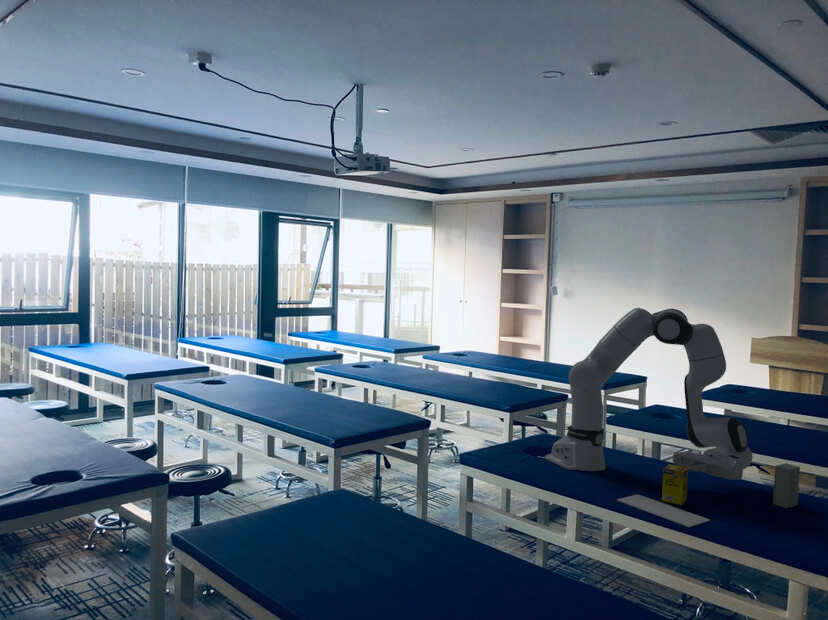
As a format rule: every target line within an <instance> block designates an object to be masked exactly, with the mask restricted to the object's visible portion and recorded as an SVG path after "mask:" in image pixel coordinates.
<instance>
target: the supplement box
mask: <svg viewBox="0 0 828 620" xmlns="http://www.w3.org/2000/svg"><path fill="white" fill-rule="evenodd" d="M662 473H663V474H662V489H661V490H662V492H661V503H664V504H667V505H670V506H673V507H676V508H682V507H683V506H684V505H685V504H687V498H688V483H689V482H688V480H689V477H688V476H689V470H688V468H687V467H683V466H680V465H676V464H670V463H669V464H668V465H666V466H665V467H663V472H662Z"/></svg>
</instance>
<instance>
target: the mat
mask: <svg viewBox="0 0 828 620" xmlns="http://www.w3.org/2000/svg"><path fill="white" fill-rule="evenodd" d="M616 502H619V503H621V504H622V503H623V504H625V505H628V506H630V507H632V508H636V509H638V510H641V511H644V512H647V513H649V514H651V515H654V516H657V517H661V518H662V519H666V520H667V521H671V522H673V523H675V524H677V525H681V526H684V527H687V528H692V527H695V526H698V525H701V524H705V523H707V522H710V521H711V519H709V518H706V517H704V516H700V515H698V514H695V513H693V512H689V511H686V510H683V509H681V508H679V507H676V506H673V505H669V504H664V503H662V501H658V500H656V499H652V498H651V497H650V498H649V497H646V496H644V495H641V494H638V493H637V494H633V495H630V496H629V495H628V496H626V497H621V498H618V499H616Z"/></svg>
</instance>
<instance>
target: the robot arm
mask: <svg viewBox="0 0 828 620" xmlns="http://www.w3.org/2000/svg"><path fill="white" fill-rule="evenodd" d="M653 336H654V337H655V338H656V340H657V341H659V342H660V343H662V344H666V345H676V346H678V345H679V346H683V347H684V350H685V352H686V355H687V360H688V373H687V374H686V375H685V376H684V381H683V384H684V386H683V387H684V399H685V408H686V420H687V421H686V422H687V423H686V436H687V439H688V441H690V443H691V444H693V445H694V446H695V447H697V448H698V449H705V448H708V449H707V450H704V452H703V453H702V454H701V453H695V452H694V451H693V452H692V451H685V450H684V451H676V452H674V453H673V454H672V463H673V465H676V466H681V467H686V468H688V471H692V472H696V473H697V472H701V473H705V474H707V475H710V476H711V477H714V478H715V477H716V478H718V477H719V478H722V479H726V480H729V481H732V480H733V481H734V480H742V478H743V473H744V470H745V469H747V468H748V467H749V466H750V465H751V464H752V462H753V453H752V450H751V449H750V447H749V446H748V445H749V438H748V437H749V436H748V432H747V428H746V427H745V426H744V424H743V423H742V422H741V421H740V420H739V419H738V418H736V417H709V418H708V417H706V416H705V415H704V410H703V409H704V408H703V407H704V406H703V398H702V397H703V396H702V393H703V390H704V389H705V388H706V387H708V386H710V385H712V384H714V383H716V382H718V381H719V380H720V379H721V378H722V377H723V376H724V374H725V373H726V371H727V361H726V357H725V354H724V350H723V347H722V344H721V341H720V338H719V337H718V334H717V332H716V330H715V329H714V327H713V326H711V325H709V324H706V323H698V324H696V323H695V324H692V323H690V322H689V320H688V317H687V315H686V314H685V313H684V312H683V311H682V310H679V309H677V308H666V309H663V310H660V311H657V312H653V313H651V312H649V311H648V310H646V309H644V308H642V307H635V308H633V309H632V310H630V311H628V312H627V313H626V314H625V315H624V316H622V317H621V318H620V319H619V320H618V321H617V322H616V323H615V324H614V325H613V326H612V327H611V328H610V329H609V330H608V331H607V332H606V333H605V335H603V336H602V337H601V339H599V341H598V342H597V343H596V345H595V346H594V348H593V349H592V350H591V352H590V353H589V354H587V356H586V357H585V358H584V359H583V360H580V361H578V362H576V363H575V364H573V365H572V366H571V368H570V370H569V372H568V382H569V389H570V396H571V424H570V425H569V426H565V427H564V428H565V429H564V430H565V431H567V433H566V435H564V436H563V437H561V438H559V439H558V440H557V441H555V442H554V443H553V445H552V447H551V448H552V449H551V453H548V454H546V455H545V456H544V459H545V460H547V461H549V462H551V463H553V464H556V465H558V466H559V467H562V468H564V469H566V470H570V471H571V470H572V471H575V470H576V471H582V472H583V471H584V472H599V471H604V470H605V469H607V468H606V463H605V458H604V448H603V442H604V435H605V432H604V431H605V428H603V425H604V411H605V410H604V409H605V408H604V403H603V395H602V386H603V385H605V383H607V381H608V380H609V379H610V378H611V377H612V376H613V375H614V373H615V372H616V371H617V370H619V368H620V366H622V365H623V364H624V363H625V361H626V360H627V359H628V358H629V357H630V356H631V355H632V354H633V353H634V352H635V351H636V350H637V349H638V348H639V347H640V346H641V345H642V344H643V343H644V342H645V341H646V340H647V339H648V338H650V337H653Z"/></svg>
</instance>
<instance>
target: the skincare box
mask: <svg viewBox="0 0 828 620" xmlns="http://www.w3.org/2000/svg"><path fill="white" fill-rule="evenodd" d="M774 469H775V470H774V481H773V482H774V484H773V497H772V498H773V499H772V504H773V505H776V506H778V507H782V508H784V509H789V507H790V508H792V507H795V506H798V502H799V490H800V488H799V485H800V471H801V467H800V466H798V465H795V464H794V465H793V464H792V463H791V464H790V463H781V464H778V465H777V464H776V465H775V468H774Z"/></svg>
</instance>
